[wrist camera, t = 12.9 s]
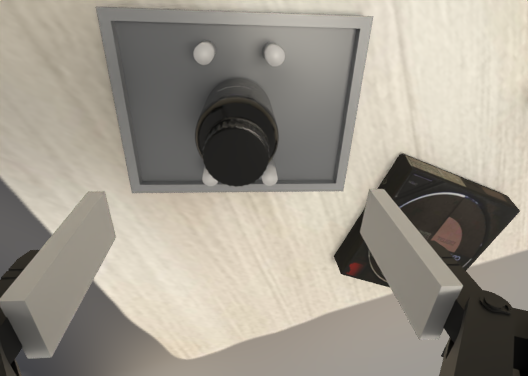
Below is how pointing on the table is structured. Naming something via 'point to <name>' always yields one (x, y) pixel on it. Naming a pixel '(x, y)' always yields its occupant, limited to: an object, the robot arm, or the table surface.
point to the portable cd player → (433, 216)
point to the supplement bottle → (237, 132)
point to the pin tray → (228, 67)
